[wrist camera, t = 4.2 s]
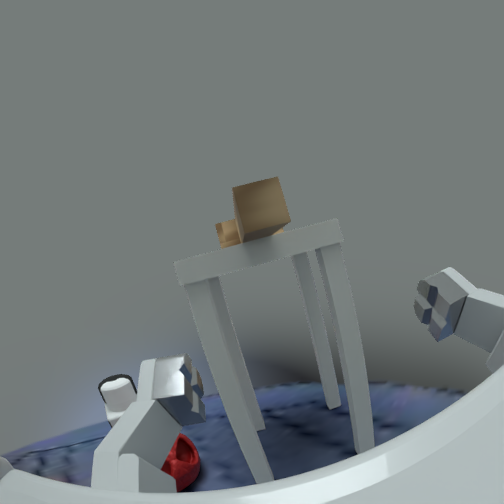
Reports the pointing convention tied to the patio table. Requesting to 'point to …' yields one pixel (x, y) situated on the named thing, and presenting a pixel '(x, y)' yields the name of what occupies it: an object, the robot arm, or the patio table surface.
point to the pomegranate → (182, 462)
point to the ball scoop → (255, 213)
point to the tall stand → (343, 317)
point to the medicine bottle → (117, 396)
